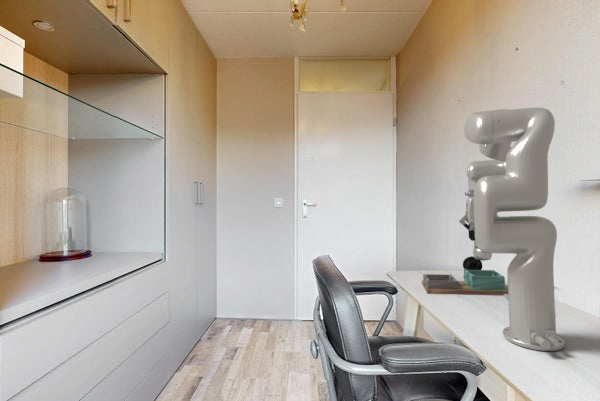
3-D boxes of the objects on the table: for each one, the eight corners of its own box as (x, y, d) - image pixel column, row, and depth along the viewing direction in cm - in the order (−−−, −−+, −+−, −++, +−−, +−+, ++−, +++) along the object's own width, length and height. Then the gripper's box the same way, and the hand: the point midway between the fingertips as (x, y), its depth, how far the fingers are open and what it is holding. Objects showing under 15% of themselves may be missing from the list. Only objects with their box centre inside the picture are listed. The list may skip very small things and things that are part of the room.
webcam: (465, 280, 136) (464, 258, 136) (461, 276, 143) (460, 254, 144) (485, 281, 134) (484, 258, 134) (480, 277, 141) (479, 255, 141)
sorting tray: (508, 295, 114) (507, 277, 114) (427, 293, 121) (426, 276, 121) (494, 285, 128) (493, 269, 128) (421, 283, 134) (421, 268, 134)
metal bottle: (492, 259, 124) (490, 209, 124) (492, 262, 118) (490, 209, 118) (473, 258, 127) (471, 209, 127) (472, 261, 121) (470, 210, 121)
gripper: (458, 195, 121) (460, 241, 121) (508, 193, 117) (510, 241, 117) (453, 195, 128) (455, 239, 128) (500, 193, 124) (502, 238, 124)
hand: (481, 239), depth 123 cm, fingers closed on metal bottle, 6 cm apart
